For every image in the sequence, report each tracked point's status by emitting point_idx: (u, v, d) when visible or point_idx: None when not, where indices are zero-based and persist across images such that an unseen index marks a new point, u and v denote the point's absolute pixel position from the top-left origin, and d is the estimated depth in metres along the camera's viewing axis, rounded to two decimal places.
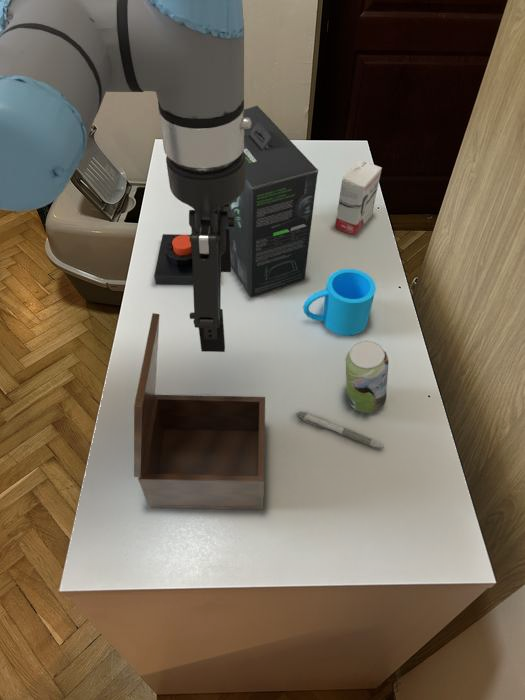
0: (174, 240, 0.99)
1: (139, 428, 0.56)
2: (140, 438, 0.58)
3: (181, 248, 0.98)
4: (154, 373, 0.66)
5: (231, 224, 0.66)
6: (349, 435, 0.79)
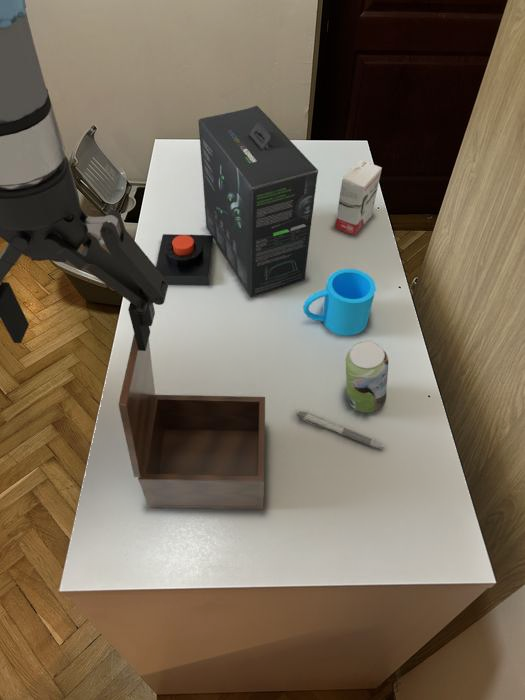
0: (174, 240, 0.99)
1: (128, 427, 0.56)
2: (131, 437, 0.58)
3: (181, 248, 0.98)
4: (148, 372, 0.66)
5: None
6: (349, 435, 0.79)
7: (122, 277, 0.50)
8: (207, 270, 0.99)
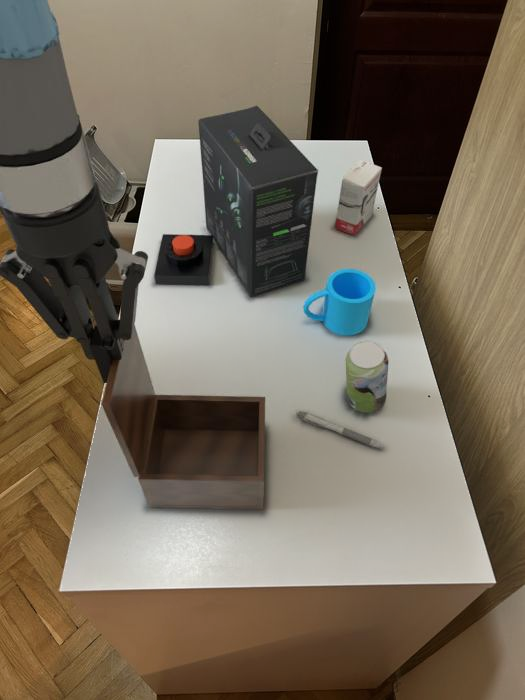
0: (174, 240, 0.99)
1: (117, 426, 0.56)
2: (122, 437, 0.57)
3: (181, 248, 0.98)
4: (141, 372, 0.66)
5: None
6: (349, 435, 0.79)
7: (109, 313, 0.51)
8: (207, 270, 0.99)
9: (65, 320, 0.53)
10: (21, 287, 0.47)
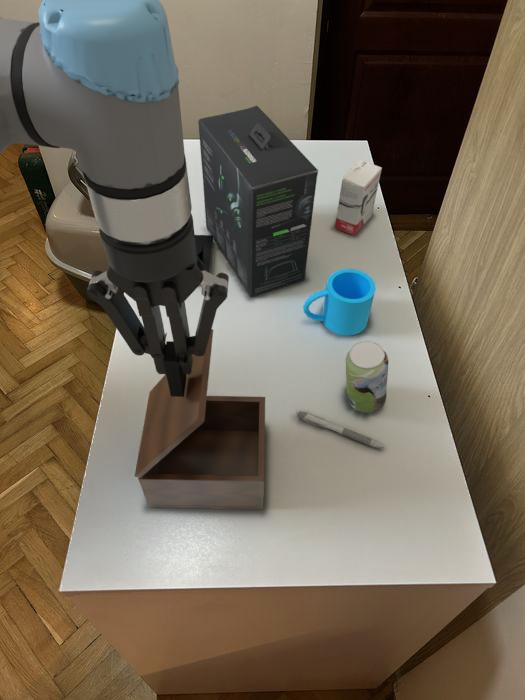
0: None
1: (183, 438, 0.57)
2: (175, 446, 0.59)
3: None
4: None
5: None
6: (349, 435, 0.79)
7: (185, 331, 0.53)
8: (207, 270, 0.99)
9: (140, 337, 0.54)
10: (107, 307, 0.49)
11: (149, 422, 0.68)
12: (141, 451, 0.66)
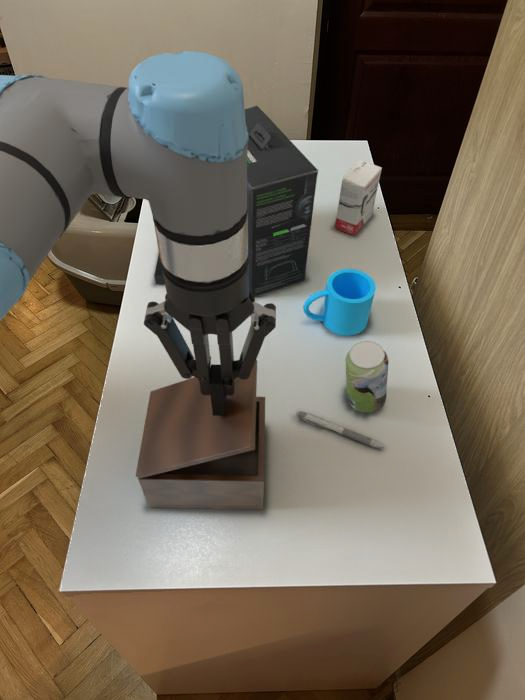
0: None
1: (221, 457, 0.61)
2: (206, 461, 0.62)
3: None
4: None
5: None
6: (349, 435, 0.79)
7: (232, 356, 0.56)
8: None
9: (188, 361, 0.57)
10: (161, 336, 0.52)
11: (156, 425, 0.68)
12: (146, 452, 0.66)
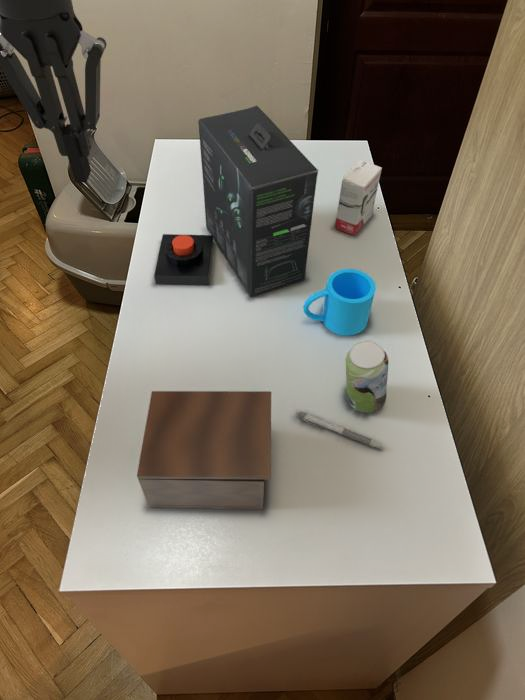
0: (174, 240, 0.99)
1: (235, 478, 0.65)
2: (217, 478, 0.65)
3: (181, 248, 0.98)
4: None
5: None
6: (349, 435, 0.79)
7: (77, 102, 0.62)
8: (207, 270, 0.99)
9: (41, 113, 0.64)
10: (4, 67, 0.58)
11: (161, 428, 0.69)
12: (149, 454, 0.67)
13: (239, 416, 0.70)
